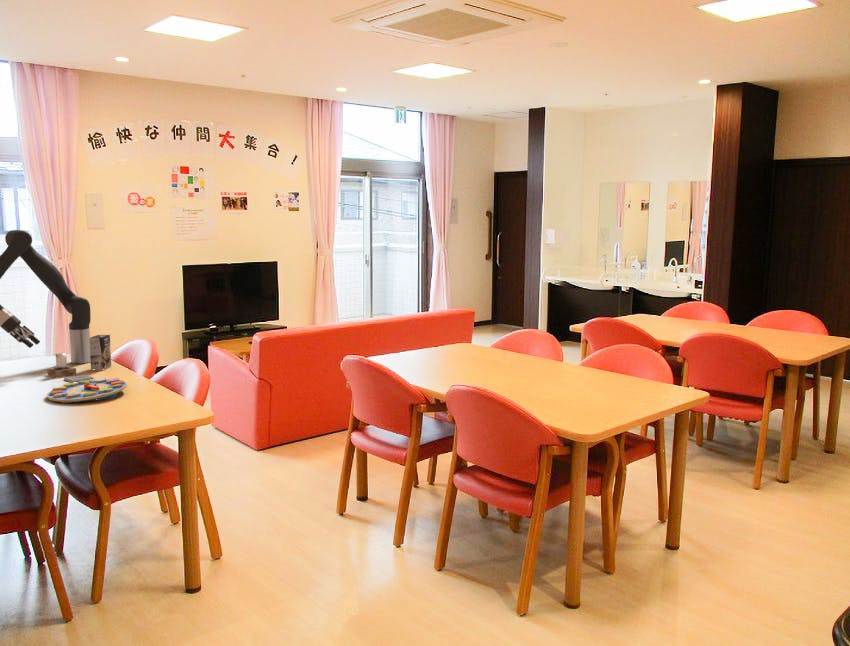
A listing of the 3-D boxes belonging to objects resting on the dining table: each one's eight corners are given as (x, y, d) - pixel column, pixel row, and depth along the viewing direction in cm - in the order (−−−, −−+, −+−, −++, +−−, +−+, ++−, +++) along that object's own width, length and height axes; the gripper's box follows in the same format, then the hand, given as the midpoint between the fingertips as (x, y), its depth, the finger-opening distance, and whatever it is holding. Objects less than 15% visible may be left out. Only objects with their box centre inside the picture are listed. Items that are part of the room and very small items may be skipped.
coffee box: (103, 370, 348) (101, 337, 346) (90, 370, 348) (88, 337, 346) (112, 366, 357) (110, 334, 355) (99, 366, 357) (97, 334, 355)
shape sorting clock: (46, 391, 308) (46, 377, 307) (124, 384, 322) (123, 371, 321) (46, 408, 281) (45, 393, 280) (131, 400, 295) (130, 386, 294)
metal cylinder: (64, 373, 341) (63, 352, 339) (69, 374, 338) (68, 353, 337) (54, 374, 337) (53, 353, 336) (59, 376, 335) (58, 355, 333)
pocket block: (67, 371, 344) (66, 365, 344) (76, 374, 338) (76, 368, 338) (47, 375, 337) (47, 368, 337) (56, 377, 331) (56, 371, 331)
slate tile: (83, 376, 334) (83, 374, 334) (93, 379, 329) (93, 377, 329) (64, 380, 327) (64, 377, 327) (73, 383, 322) (73, 380, 322)
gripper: (6, 317, 323) (35, 341, 327) (18, 312, 337) (46, 336, 341) (-6, 328, 323) (23, 353, 327) (7, 324, 337) (35, 347, 341)
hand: (35, 344), depth 334 cm, fingers open, 8 cm apart
